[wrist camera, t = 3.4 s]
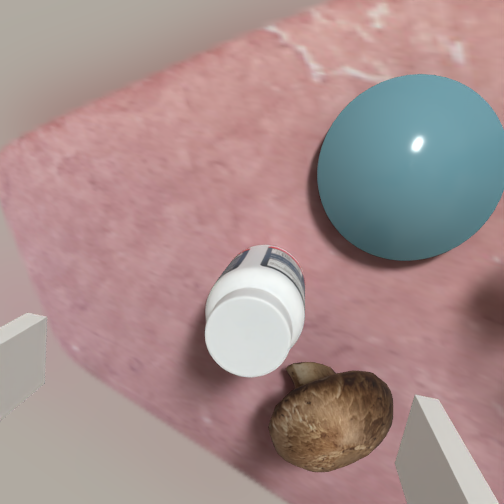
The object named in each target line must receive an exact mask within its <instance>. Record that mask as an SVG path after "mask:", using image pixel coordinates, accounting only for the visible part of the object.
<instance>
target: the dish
mask: <svg viewBox="0 0 504 504" xmlns="http://www.w3.org/2000/svg"><path fill="white" fill-rule="evenodd" d="M317 182H318V190H319V194H320V198H321V202H322V204H323V207H324V209H325V212H326V214H327V216H328V217H329V219H330V221H331V222H332V224H333V225H334V227H335V228H336V229H337V230H338V232H339V233H340V234H341V235H342V236H343V237H344V238H345V239H347V240H348V241H349V242H350V243H352V244H353V245H355V246H356V247H358V248H359V249H361V250H363V251H365V252H367V253H369V254H372V255H375V256H377V257H381V258H385V259H391V260H399V261H411V260H420V259H426V258H430V257H434V256H437V255H439V254H442V253H445V252H447V251H449V250H451V249H453V248H455V247H457V246H459V245H460V244H462V243H463V242H465V241H466V240H468V239H469V238H470V237H471V236H472V235H474V234H475V233H476V232H477V231H478V230H479V229H480V228H481V227H482V226H483V225H484V224H485V222H486V221H487V220H488V219H489V217H490V216H491V214H492V213H493V212H494V210H495V208H496V206H497V204H498V202H499V201H500V198H501V196H502V193H503V191H504V130H503V127H502V125H501V123H500V121H499V119H498V117H497V115H496V113H495V112H494V111H493V109H492V108H491V107H490V105H489V104H488V103H487V102H486V101H485V100H484V99H483V98H482V97H481V96H480V95H479V94H477V93H476V92H475V91H473V90H472V89H471V88H469V87H467V86H465V85H463V84H462V83H460V82H457V81H455V80H452V79H449V78H446V77H441V76H436V75H426V74H417V75H406V76H401V77H396V78H393V79H390V80H387V81H384V82H381V83H379V84H377V85H375V86H373V87H371V88H369V89H368V90H366V91H365V92H363V93H362V94H360V95H359V96H357V97H356V98H355V99H354V100H353V101H352V102H350V103H349V104H348V105H347V106H346V107H345V109H344V110H343V111H342V112H341V113H340V114H339V116H338V117H337V118H336V120H335V121H334V122H333V124H332V126H331V128H330V129H329V131H328V133H327V135H326V137H325V139H324V142H323V144H322V147H321V151H320V155H319V160H318V167H317Z"/></svg>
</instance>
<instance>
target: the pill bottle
mask: <svg viewBox="0 0 504 504" xmlns="http://www.w3.org/2000/svg"><path fill="white" fill-rule="evenodd" d="M205 316H206V322H207V323H206V326H205V342H206V345H207V349H208V351H209V353H210V355H211V356H212V358H213V359H214V360H215V362H216V363H217V364H218V365H219V366H221V367H222V368H223V369H225V370H226V371H228V372H230V373H232V374H235V375H238V376H242V377H259V376H263V375H266V374H268V373H270V372H272V371H274V370H275V369H276V368H278V367H279V366H280V365H281V364H282V363H283V361H284V360H285V358H286V357H287V355H288V352H289V350H290V349H291V348H292V347H293V346H294V344H295V343H296V342H297V340H298V338H299V336H300V334H301V332H302V329H303V325H304V319H305V280H304V274H303V271H302V269H301V267H300V265H299V263H298V262H297V260H296V259H295V258H294V257H293V256H292V255H291V254H290V253H288V252H287V251H285V250H283V249H282V248H279V247H276V246H271V245H257V246H253V247H250V248H247V249H245V250H244V251H242V252H240V253H239V254H238V255H237V256H236V257H235V258H234V259H233V260H232V261H231V263H230V264H229V265H228V267H227V268H226V269H225V271H224V272H223V273H222V274H221V276H220V277H219V279H218V280H217V281H216V283H215V284H214V286H213V288H212V289H211V291H210V294H209V296H208V299H207V303H206V309H205Z"/></svg>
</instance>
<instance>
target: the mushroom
mask: <svg viewBox="0 0 504 504" xmlns="http://www.w3.org/2000/svg"><path fill="white" fill-rule="evenodd" d="M286 370H287V372H288V373H289V375H290V376H291V378H292V380H293V382H294V385H295V389H294V390H292V391H291V392H290V393H289V394H288V395H287V396H286V397H285V398H284V399H283V400H282V401H281V402H280V403H279V404H277V405H276V407H275V410H274V412H273V415H272V417H271V420H270V423H269V427H268V428H269V432H270V436H271V439H272V442H273V445H274V447H275V449H276V451H277V453H278V454H279V455H280V456H281V457H282V458H283V459H284V460H286V461H287V462H289V463H291V464H293V465H295V466H298V467H301V468H303V469H306V470H308V471H312V472H329V471H332V470H335V469H338V468H341V467H345V466H347V465H349V464H352V463H354V462H356V461H357V460H359V459H361V458H363V457H365V456H367V455H369V454H370V453H371V452H372V451H373V450H374V449H375V448H376V447H377V446H378V445H379V444H380V443H381V442H382V441H383V439H384V438H385V437H386V435H387V433H388V431H389V429H390V427H391V425H392V420H393V398H392V394H391V391H390V389H389V387H388V386H387V384H386V383H385V382H383V381H382V380H381V379H380V378H378V377H377V376H376V375H375V374H373V373H370V372H365V371H348V372H343V373H337V374H336V373H335V372H334V371H333V370H332V369H331V368H330V367H328V366H325V365H323V364H319V363H314V362H301V363H293V364H291V365H289V366H288V367H287V368H286Z"/></svg>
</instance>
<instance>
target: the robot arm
mask: <svg viewBox="0 0 504 504" xmlns="http://www.w3.org/2000/svg"><path fill="white" fill-rule="evenodd" d="M46 336H47V317H46V316H41V315H36V314H31V313H26V314H24V315H22V316H21V317H19V318H17V319H15V320H13V321H11V322H9V323H7V324H6V325H4V326H2V327H0V421H1V420H2V419H4V418H5V417H6V416H7V415H8V414H10V413H11V412H12V411H13V410H14V409H15V408H17V407H18V406H19V405H20V404H21V403H23V402H24V401H25V400H26V399H27V398H28V397H30V396H31V395H32V394H33V393H34V392H36V391H37V390H38V389H39V388H40V387H41V386H43V385H44V384H45V362H46ZM395 466H396V469H397V472H398V475H399V478H400V482H401V485H402V488H403V491H404V495H405V498H406V501H407V504H499V503H498V501H497V499H496V498H495V496H494V494H493V492H492V491H491V489H490V487H489V486H488V484H487V482H486V480H485V479H484V477H483V475H482V474H481V472H480V470H479V468H478V467H477V465H476V463H475V461H474V460H473V458H472V456H471V455H470V453H469V451H468V449H467V448H466V446H465V444H464V443H463V441H462V439H461V437H460V436H459V434H458V432H457V430H456V429H455V427H454V425H453V424H452V422H451V420H450V418H449V417H448V415H447V413H446V412H445V410H444V408H443V406H442V405H441V403H440V401H439V399H434V398H429V397H424V396H420V395H415V396H414V400H413V403H412V406H411V410H410V413H409V417H408V420H407V424H406V427H405V430H404V434H403V437H402V441H401V444H400V447H399V451H398V454H397V458H396V461H395Z"/></svg>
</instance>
